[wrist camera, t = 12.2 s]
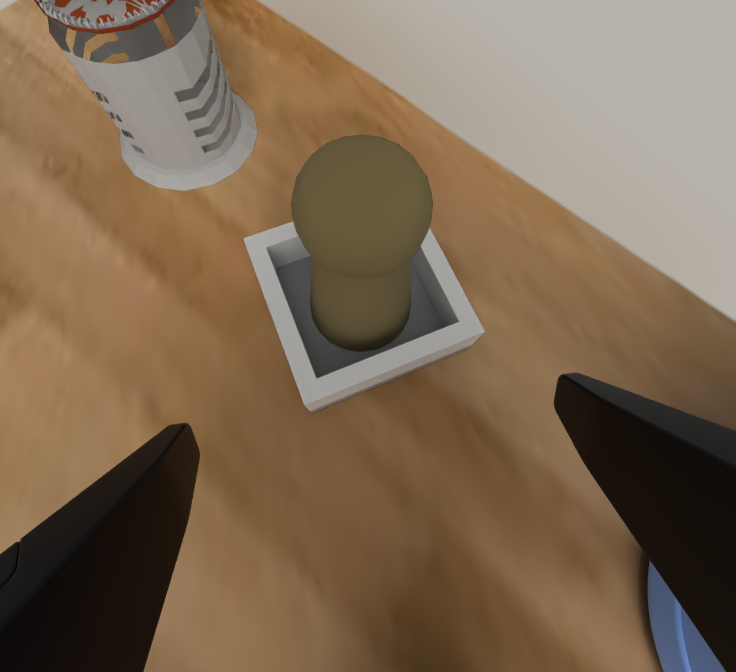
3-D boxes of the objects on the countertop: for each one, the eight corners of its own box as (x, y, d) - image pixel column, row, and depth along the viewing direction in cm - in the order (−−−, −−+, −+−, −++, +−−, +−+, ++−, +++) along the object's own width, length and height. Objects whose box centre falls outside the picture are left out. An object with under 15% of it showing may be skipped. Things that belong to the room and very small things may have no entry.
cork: (373, 372, 22) (386, 293, 12) (289, 314, 23) (232, 192, 13) (429, 292, 24) (487, 160, 13) (349, 241, 25) (343, 80, 14)
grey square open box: (467, 349, 24) (484, 331, 20) (312, 413, 22) (304, 405, 19) (400, 218, 26) (406, 183, 23) (258, 267, 25) (242, 238, 22)
